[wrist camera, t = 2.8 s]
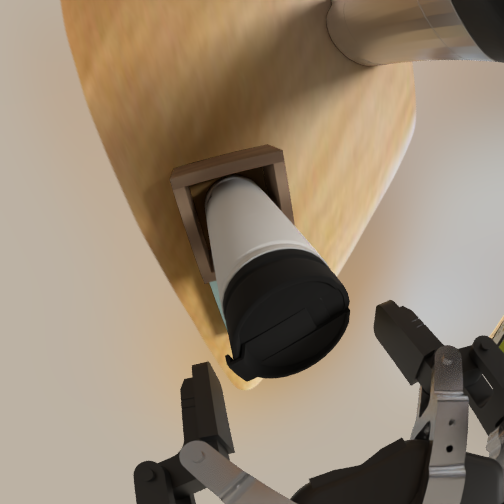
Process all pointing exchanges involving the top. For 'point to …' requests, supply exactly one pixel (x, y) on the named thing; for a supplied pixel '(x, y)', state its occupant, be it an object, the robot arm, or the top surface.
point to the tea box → (500, 337)
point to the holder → (222, 166)
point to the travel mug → (270, 284)
